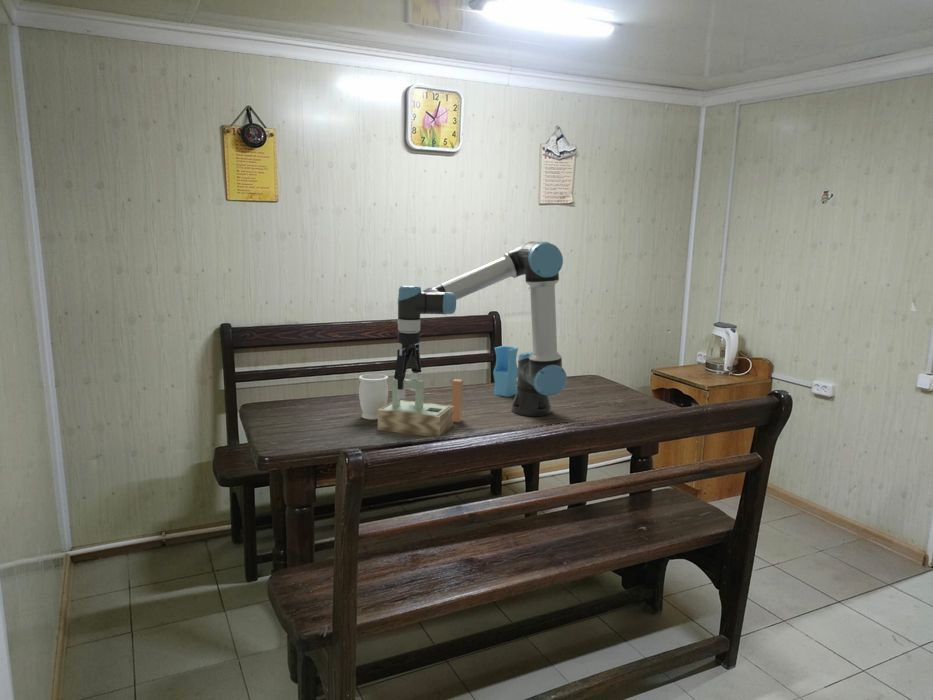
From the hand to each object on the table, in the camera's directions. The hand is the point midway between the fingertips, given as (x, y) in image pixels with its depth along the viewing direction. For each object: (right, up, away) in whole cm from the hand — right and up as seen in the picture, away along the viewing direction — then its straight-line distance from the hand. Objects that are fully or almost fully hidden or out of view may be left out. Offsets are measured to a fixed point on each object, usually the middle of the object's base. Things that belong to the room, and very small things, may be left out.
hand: (407, 394), depth 217 cm
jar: (-14, -9, +12) cm, 20 cm away
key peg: (+17, -10, +10) cm, 22 cm away
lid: (+3, -6, 0) cm, 6 cm away
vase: (+37, -4, +53) cm, 64 cm away
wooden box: (+3, -12, +1) cm, 12 cm away
